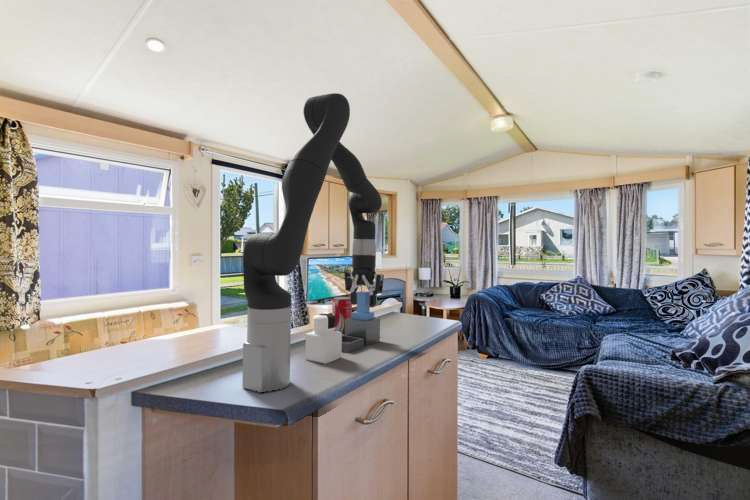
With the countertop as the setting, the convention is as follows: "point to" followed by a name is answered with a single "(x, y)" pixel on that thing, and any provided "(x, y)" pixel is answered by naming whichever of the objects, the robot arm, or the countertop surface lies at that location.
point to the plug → (363, 307)
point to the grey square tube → (363, 330)
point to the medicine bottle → (323, 340)
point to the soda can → (341, 312)
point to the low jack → (351, 343)
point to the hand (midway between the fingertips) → (363, 305)
